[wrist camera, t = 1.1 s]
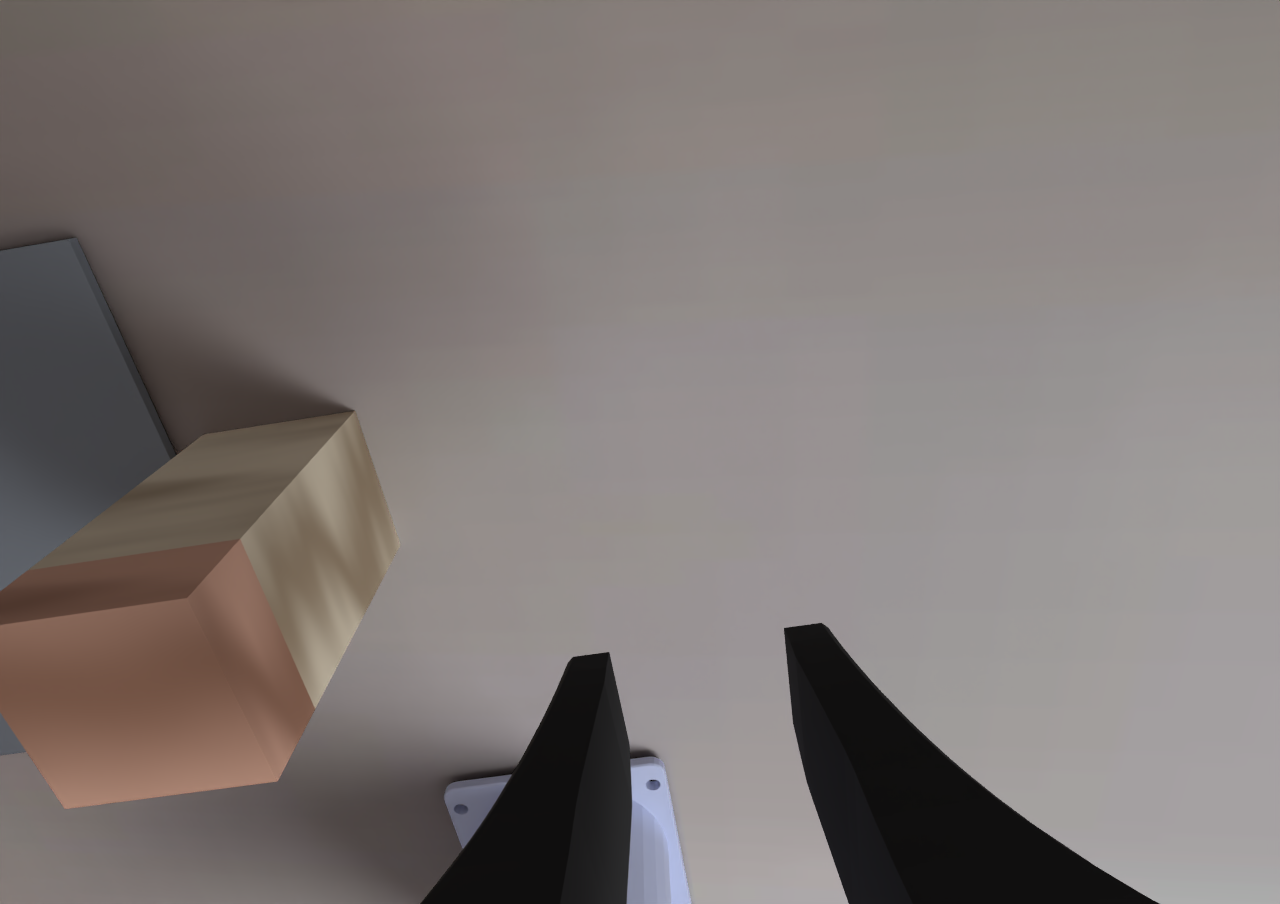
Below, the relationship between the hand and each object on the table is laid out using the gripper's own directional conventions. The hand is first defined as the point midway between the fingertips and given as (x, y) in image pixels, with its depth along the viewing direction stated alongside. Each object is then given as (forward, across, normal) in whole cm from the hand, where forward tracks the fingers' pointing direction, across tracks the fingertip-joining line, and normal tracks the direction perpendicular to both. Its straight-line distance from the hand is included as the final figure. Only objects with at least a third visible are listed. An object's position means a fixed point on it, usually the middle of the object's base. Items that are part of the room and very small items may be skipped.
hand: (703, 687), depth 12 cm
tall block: (+10, +11, 0) cm, 15 cm away
